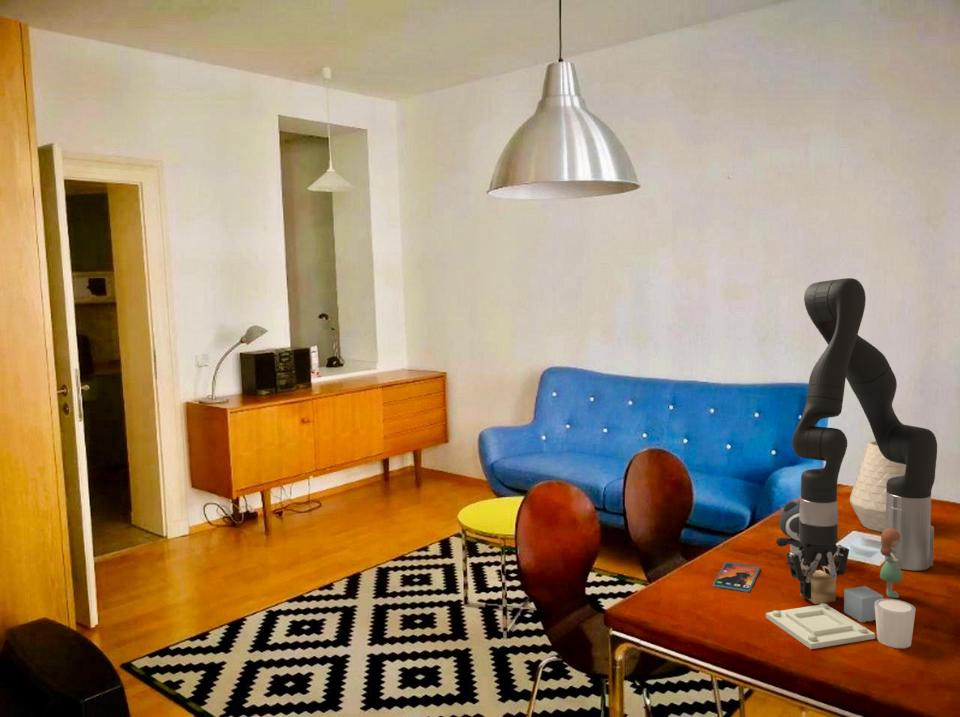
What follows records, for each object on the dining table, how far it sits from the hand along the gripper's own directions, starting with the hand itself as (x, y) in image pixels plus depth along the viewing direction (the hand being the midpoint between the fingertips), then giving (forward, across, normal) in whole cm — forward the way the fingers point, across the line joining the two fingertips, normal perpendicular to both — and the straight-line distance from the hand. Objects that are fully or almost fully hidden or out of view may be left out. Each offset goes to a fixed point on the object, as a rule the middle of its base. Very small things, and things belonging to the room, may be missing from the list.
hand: (817, 595), depth 163 cm
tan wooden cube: (0, 0, 0) cm, 0 cm away
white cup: (+1, -1, +21) cm, 21 cm away
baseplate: (0, +9, +12) cm, 15 cm away
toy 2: (+1, -15, +4) cm, 16 cm away
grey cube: (+1, -3, +10) cm, 10 cm away
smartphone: (+1, +10, -15) cm, 18 cm away
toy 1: (+1, -10, -19) cm, 21 cm away
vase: (+1, -47, -34) cm, 58 cm away
